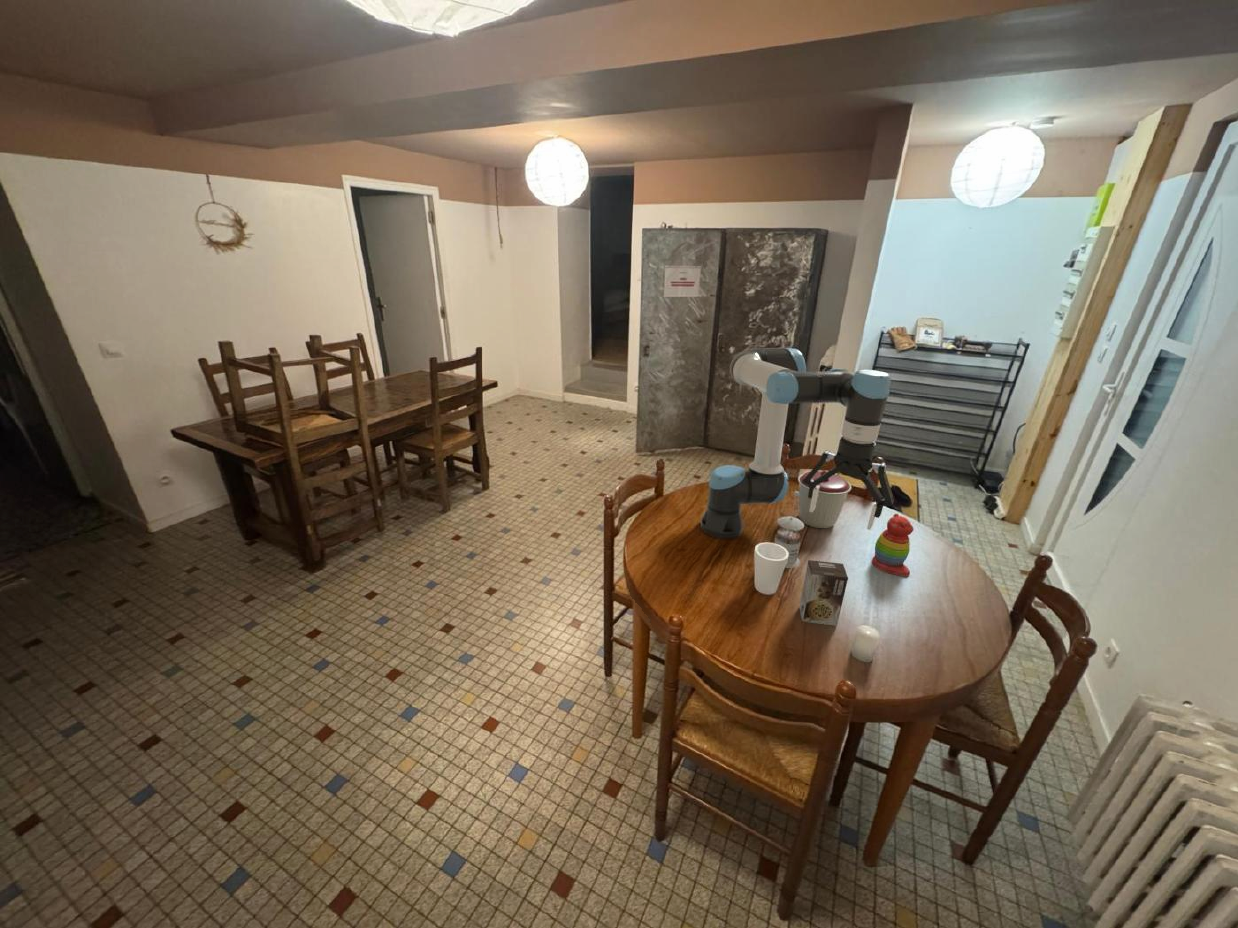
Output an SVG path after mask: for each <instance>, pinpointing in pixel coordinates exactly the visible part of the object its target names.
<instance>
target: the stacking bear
mask: <svg viewBox="0 0 1238 928" xmlns="http://www.w3.org/2000/svg"><path fill="white" fill-rule="evenodd" d="M914 529H915V528H914V526H913V525H912V524H911V522H910V521H909V520H908V518H906V517H905V516H902V515H901V516H900V515H899V513H894V514H893V516H892V517H890V518H889V519H888V520H887V522H886V529H884V530H883V531H882V532H881V533H880V535H879V536H878V538H877V539H876V541H875V547H874V556H872V559H871V562H872V564H873V566H875V567H876V568H877V569H879V570H880V571H883V572H884V573H888V574H891V575H894V576H899V577H908V576H910V574H911V572H910V569H909V568H908V567H907V566H906V565H905V561H906V559H907V558H908V556H909V553H910V551H911V550H910V549H911V548H910V545H911V544H910V543H911V541H910V537H909V536H910V535H911V534H912V533H913V532H914Z"/></svg>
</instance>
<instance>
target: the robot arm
mask: <svg viewBox="0 0 1238 928" xmlns="http://www.w3.org/2000/svg"><path fill="white" fill-rule="evenodd" d="M730 362H731V363H730V365H729V374H730V376H731V379H733V381H734V382H736V383H737V384H739V385H741V386H745V387H748V386H749V387H750V386H752V387H754V388H755V389H758V391H759V392H760V393H761V395H762V396H761V403H760V404H761V405H760V410H759V411H760V412H759V418H758V420H759V421H758V428H757V438H756V444H755V452H754V453H755V454H754V459H753V461H752V462H750V463H749V465H748V470H745V469H744V468H743V467H742V466H738V465H733V464H732V465H731V464H728V465H726V464H725V465H722V466H717V467H716V468H715V469H713V471H711V473H710V476H709V481H708V496H707V504H706V509H705V511H704V512H703V515H702V517H701V519H700V529H701V530H702V531H703V533H705V534H707V535H708V536H710V537H714V538H716V539H723V540H727V539H734V538H737V537H739V536H741V535H742V534H743V528H744V523H743V519H742V514H741V507H742V505H747V504H748V505H750V504H752V505H753V504H754V505H755V504H767V505H769V504H775V503H780V502H781V501H783V500H784V499H785V497H786V496H787V493H788V490H789V482H788V481H789V476H788V474H787V473H786V471H785V470H784V467H783V466H782V464H781V458H782V452H783V451H782V450H783V444H784V436H785V430H786V423H787V419H788V418H787V417H788V411H789V410H788V409H789V404H829V403H831V404H832V403H836V404H841V405H842V406H845V407H846V408H845V409H846V410H845V415H844V420H843V424H842V429H841V433H840V435H841V437H840V438H839V443H838V447H837V452H836V454H835V453H833V452H831V451H830V450H828V449H826V450H825V451H824V452H822V454H821V457H820V460H818V462H817V464H816V465H815V466H813V468H812V469H811V470H810V471H809V472H810V473H809V474H808V475H807V476H806V477H805V478H804V480H803V483H805V484H808V485H809V487H810V488H809V493H808V498H810V499H812V500H811V505H810V510H809V512H813V511H814V510H815V508H816V503H817V498H818V493H819V488H820V486H818V484H820V483H822V482H823V481H825V480H826V479H828V478H829V477H831V476H833V475H837V474H838V473H840V474H842V476H849V477H851V478H854V479H856V478H859V479H860V481H861V482H862V483H863V484H864V486H865V487H866V489H867V491H868V492H869V494H870V495H871V497H872V499H873V500H874V502H873V504H872V507H871V512H870V515H869V518H868V523H867V527H866V530H869V531H871V529H872V527H873V525H874V522H875V518H878V519H879V518H880V517H881V515H882V512H883V509H884V507H885V506H888V507H891V506H892V505H893V504H894V501H895V498H894V495H893V492H892V489H891V485H890V481H889V479H888V475H887V464H886V462H881V463H875V462H873V458H874V454H875V453H874V452H875V448H876V445H877V443H876V441H877V440H878V436H879V432H880V428H881V425H882V424H881V422H882V420H883V416H884V411H885V409H886V404H887V401H888V397H889V395H890V386H891V380H892V378H891V375H890V374H889V373H887V372H884V371H880V370H875V369H860V370H857V371H855V372H852V371H850V370H848V369H846V368H845V369H844V368H839V367H833V368H830V369H829V370H827V371H807V366H806V361H805V358H804V355H803V353H802V352H801V351H800V350H799V349H797V348H790V347H765V348H764V347H763V348H758V347H753V348H748V349H745V350H743V351H740V352H738V353H737V354H736V355H735V356H734V357H733V358H732V360H731V361H730ZM831 460H833V462H834V464H835V465H834V466H833V467H832V468H830V469H828V471H827V472H826V473H824V474H823V475H821V476H820V477H818V478H817V479H815V480H813V479H811V478H812V477H813V476H814V475H815V474H816V473H817V471H820V469H821V468H822V467H823V466H824V465H825V464H826V462H827V463H828V462H830V461H831ZM872 469H873V470H874V472H875V473H876V474H877V478H878V481H879V485H880V488H881V491H882V493H881V492H880V489H879V487H878V486H877V485H876V483H875V482H874V479H873V478H872V477H871V474H870V472H869V471H870V470H872Z"/></svg>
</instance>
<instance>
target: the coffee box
mask: <svg viewBox="0 0 1238 928" xmlns="http://www.w3.org/2000/svg"><path fill="white" fill-rule="evenodd" d="M847 575H848V573H847V571H846V569H845V566H844V563H838V562H837V563H836V562H830V561H829V562H828V561H822V560H821V561H820V560H812V559H811V560H808V561H807V566H806V572H805V576H804V581H803V587H802V590H801V591H802V592H801V596H800V602H799V604H798V605H799V606H798V607H799V612H800V617H801V621H802V622H806V623H811V624H819V625H826V626H827V625H828V626H832V627H837V626H838V623H839V618H840V615H841V612H842V611H841V610H842V606H843V602H844V597H845V592H846V588H847V584H848V581H849V575H848V576H847Z"/></svg>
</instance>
